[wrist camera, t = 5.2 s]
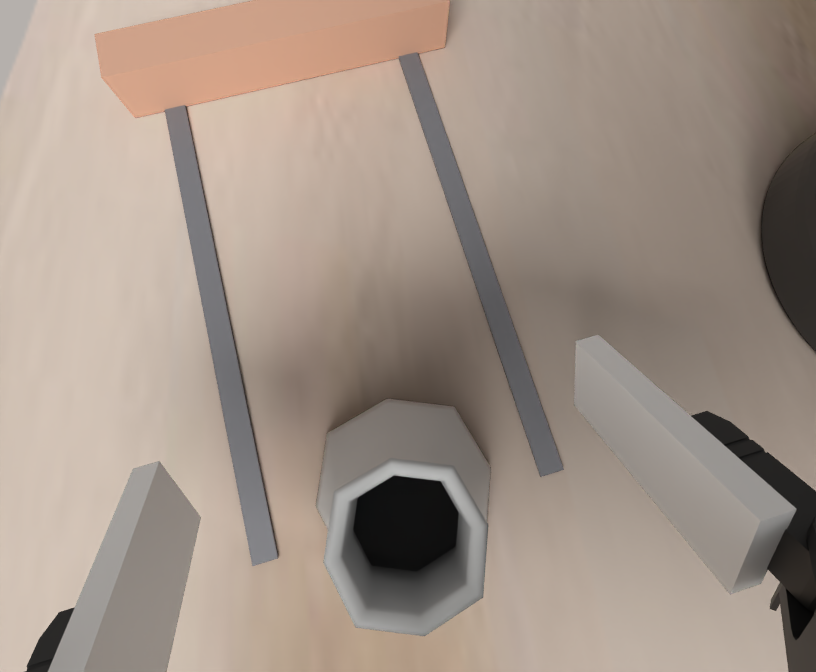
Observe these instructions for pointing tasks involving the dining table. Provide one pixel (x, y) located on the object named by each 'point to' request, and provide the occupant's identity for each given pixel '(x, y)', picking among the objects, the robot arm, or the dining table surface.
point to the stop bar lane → (271, 66)
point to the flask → (405, 516)
